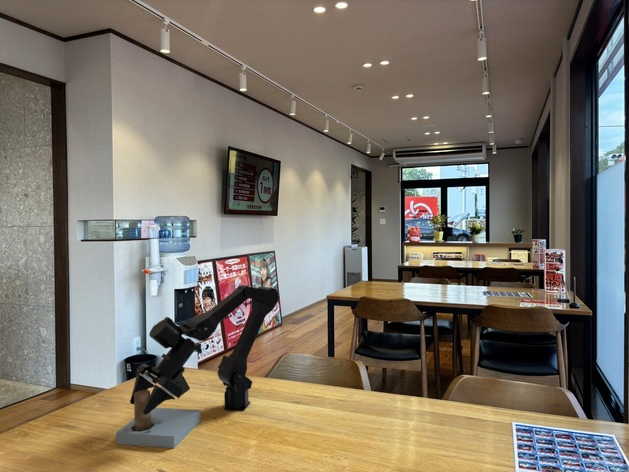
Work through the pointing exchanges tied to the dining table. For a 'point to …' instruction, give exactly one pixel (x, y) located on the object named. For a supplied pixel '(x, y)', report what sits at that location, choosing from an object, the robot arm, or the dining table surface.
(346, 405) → the dining table surface
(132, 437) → the plate
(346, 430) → the dining table surface
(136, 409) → the peg
